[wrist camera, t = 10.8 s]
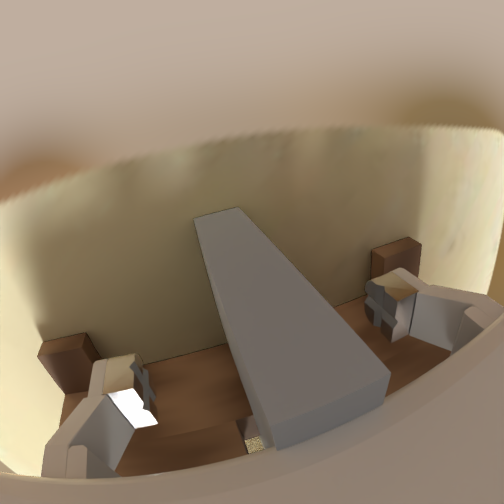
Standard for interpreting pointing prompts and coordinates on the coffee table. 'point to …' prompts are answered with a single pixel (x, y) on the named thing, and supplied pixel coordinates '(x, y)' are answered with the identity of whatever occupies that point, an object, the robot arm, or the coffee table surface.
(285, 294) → the grey plate
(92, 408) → the robot arm
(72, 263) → the coffee table surface
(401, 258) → the walnut crosspiece
